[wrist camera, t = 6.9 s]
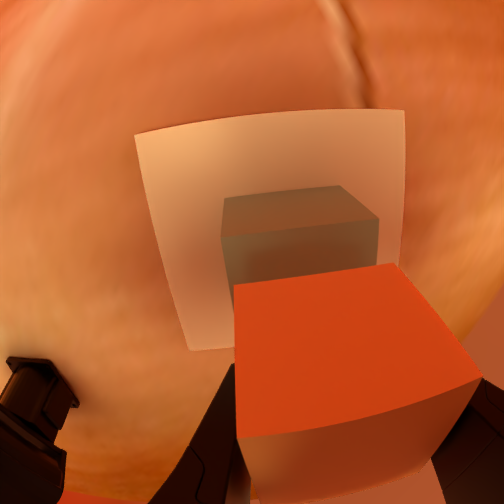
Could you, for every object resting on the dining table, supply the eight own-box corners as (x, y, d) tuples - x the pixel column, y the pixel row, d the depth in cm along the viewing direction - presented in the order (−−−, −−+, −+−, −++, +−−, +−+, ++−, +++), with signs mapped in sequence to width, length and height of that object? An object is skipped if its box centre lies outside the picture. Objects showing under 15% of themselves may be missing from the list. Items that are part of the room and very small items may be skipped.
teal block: (239, 296, 18) (242, 357, 14) (224, 197, 16) (220, 237, 11) (339, 283, 18) (367, 337, 14) (339, 185, 16) (379, 218, 11)
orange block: (252, 391, 11) (262, 508, 7) (233, 284, 9) (237, 438, 5) (375, 369, 11) (418, 472, 7) (393, 262, 9) (483, 376, 5)
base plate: (190, 339, 21) (189, 351, 20) (141, 132, 15) (134, 135, 14) (383, 312, 21) (389, 322, 20) (394, 109, 15) (404, 110, 14)
